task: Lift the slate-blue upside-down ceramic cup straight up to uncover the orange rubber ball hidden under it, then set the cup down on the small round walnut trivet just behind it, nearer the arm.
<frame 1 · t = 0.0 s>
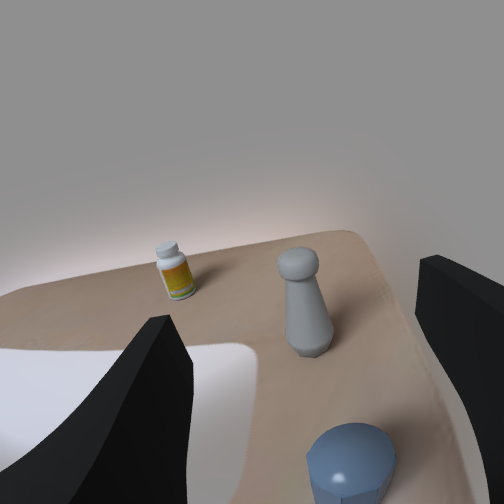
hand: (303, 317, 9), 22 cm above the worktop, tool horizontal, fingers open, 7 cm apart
salt shaker: (312, 347, 38), on the worktop
cup: (349, 491, 20), on the worktop
supplement bottle: (182, 293, 59), on the worktop
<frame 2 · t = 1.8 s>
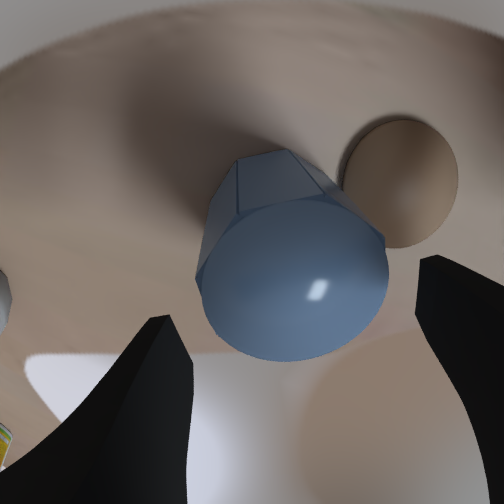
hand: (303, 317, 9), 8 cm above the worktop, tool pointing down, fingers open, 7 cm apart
cup: (274, 210, 16), on the worktop
trivet: (403, 185, 15), on the worktop
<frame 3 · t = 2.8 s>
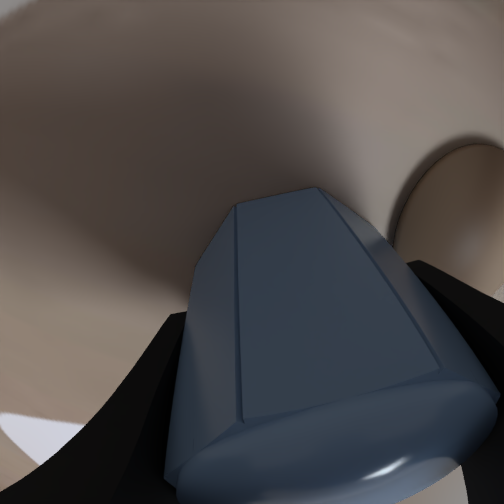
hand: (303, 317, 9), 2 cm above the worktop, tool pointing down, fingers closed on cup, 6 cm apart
cup: (292, 279, 10), on the worktop, touching gripper
trivet: (470, 235, 10), on the worktop
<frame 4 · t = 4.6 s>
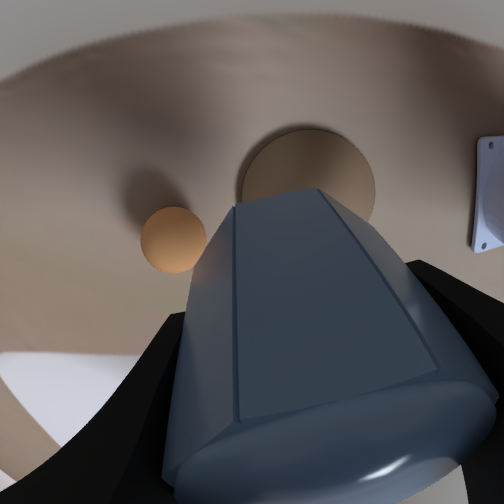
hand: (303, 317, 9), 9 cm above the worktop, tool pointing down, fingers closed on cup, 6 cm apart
cup: (291, 279, 10), point 7 cm above the worktop, touching gripper
ball: (173, 239, 15), point 2 cm above the worktop
trivet: (310, 196, 16), on the worktop
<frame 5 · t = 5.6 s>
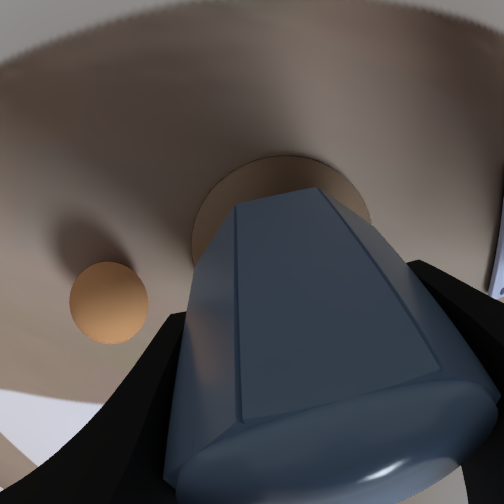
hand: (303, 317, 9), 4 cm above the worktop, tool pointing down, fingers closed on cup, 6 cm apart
cup: (292, 279, 10), point 2 cm above the worktop, touching gripper
ball: (108, 302, 12), point 2 cm above the worktop
trivet: (283, 245, 12), on the worktop
when the fingers open (4 cm above the worktop, at t = 6.3 s): cup drops 2 cm, resting on trivet.
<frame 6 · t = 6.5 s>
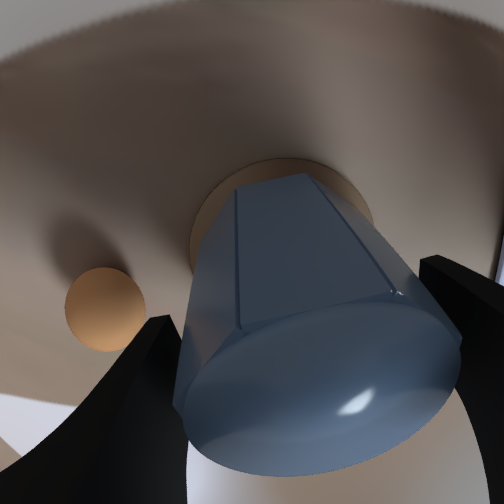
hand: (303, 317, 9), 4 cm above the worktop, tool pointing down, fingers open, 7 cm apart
cup: (285, 255, 12), resting on trivet
ball: (104, 309, 11), point 2 cm above the worktop
trivet: (284, 250, 12), on the worktop
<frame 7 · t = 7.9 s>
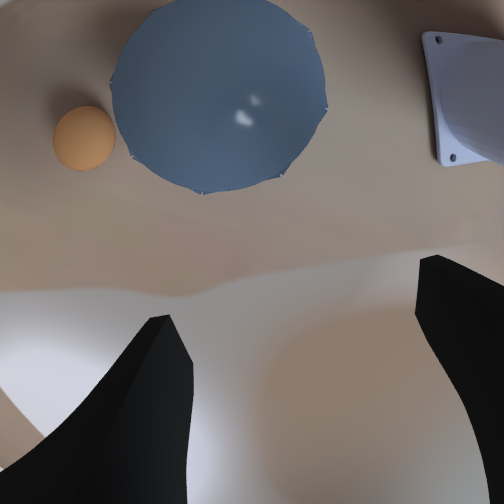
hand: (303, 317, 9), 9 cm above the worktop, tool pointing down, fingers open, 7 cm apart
cup: (224, 90, 14), resting on trivet
ball: (84, 138, 13), point 2 cm above the worktop
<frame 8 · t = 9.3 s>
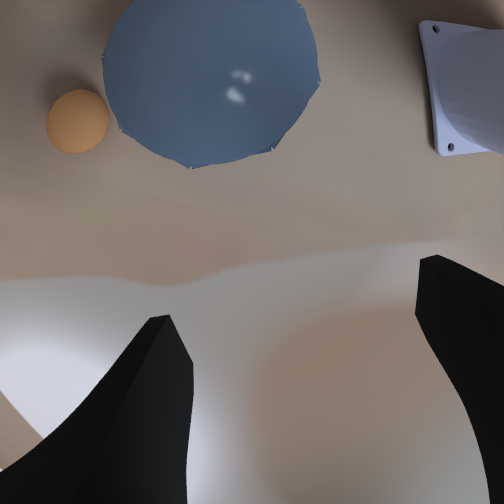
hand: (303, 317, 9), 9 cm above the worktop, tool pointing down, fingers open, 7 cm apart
cup: (219, 75, 13), resting on trivet
ball: (77, 121, 13), point 2 cm above the worktop
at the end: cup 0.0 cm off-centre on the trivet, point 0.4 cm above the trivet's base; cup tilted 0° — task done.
